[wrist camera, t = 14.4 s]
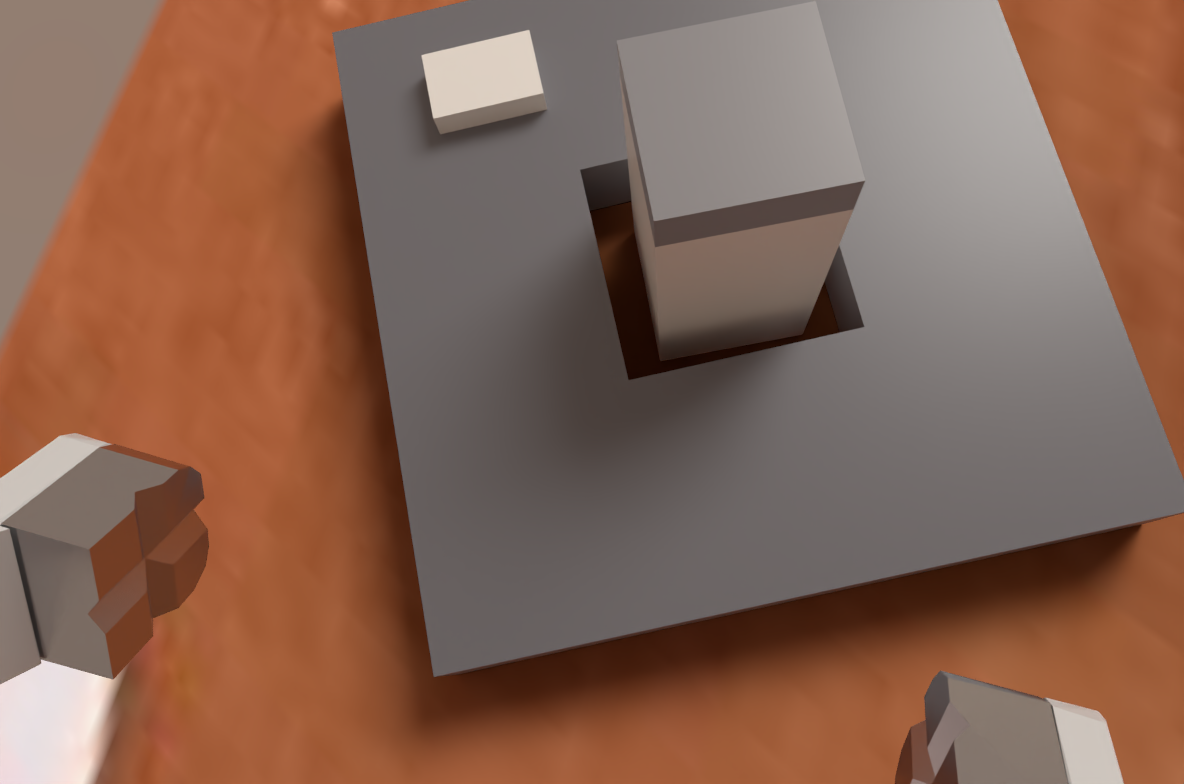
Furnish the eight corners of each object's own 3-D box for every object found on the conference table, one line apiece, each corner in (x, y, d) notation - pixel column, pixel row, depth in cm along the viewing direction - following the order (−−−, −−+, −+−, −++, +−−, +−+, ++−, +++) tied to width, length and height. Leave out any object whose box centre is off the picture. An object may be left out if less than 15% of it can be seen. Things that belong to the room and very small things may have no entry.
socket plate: (930, -52, 29) (961, -137, 26) (1143, 523, 24) (1213, 504, 21) (359, 82, 30) (322, 15, 27) (456, 674, 25) (425, 677, 22)
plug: (770, 205, 28) (815, 0, 19) (802, 334, 27) (865, 180, 18) (634, 231, 28) (616, 40, 19) (660, 361, 27) (653, 221, 18)
